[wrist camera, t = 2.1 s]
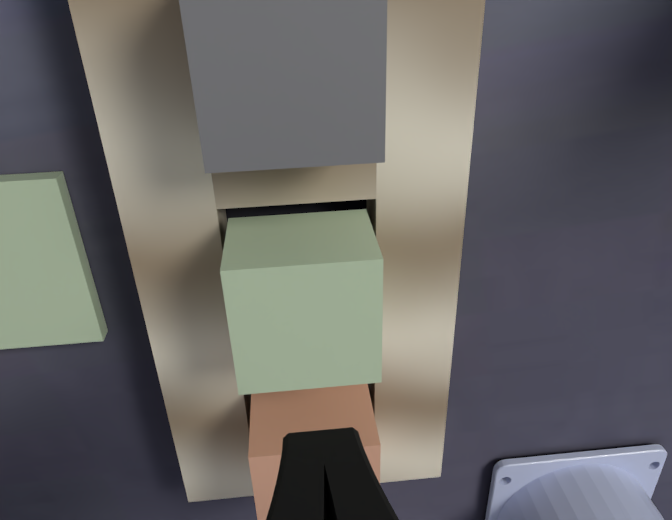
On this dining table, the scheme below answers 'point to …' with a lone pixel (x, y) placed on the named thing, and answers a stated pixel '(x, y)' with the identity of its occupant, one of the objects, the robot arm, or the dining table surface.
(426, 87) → the key console
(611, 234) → the dining table surface
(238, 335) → the key sage
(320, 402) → the key terracotta
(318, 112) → the key charcoal
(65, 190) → the tile
